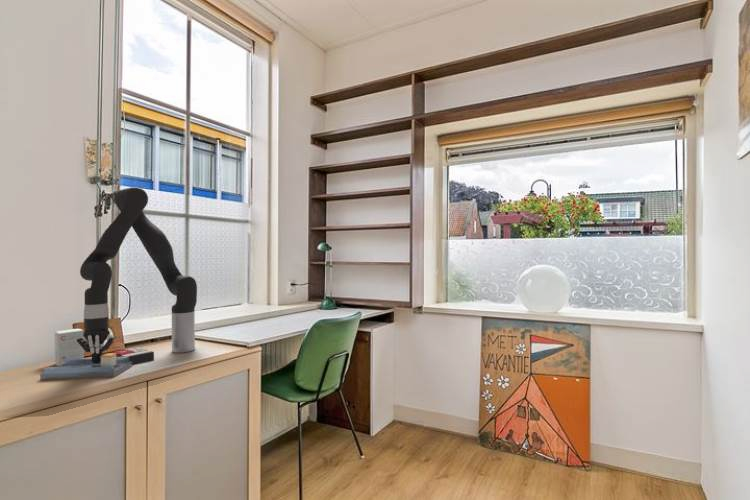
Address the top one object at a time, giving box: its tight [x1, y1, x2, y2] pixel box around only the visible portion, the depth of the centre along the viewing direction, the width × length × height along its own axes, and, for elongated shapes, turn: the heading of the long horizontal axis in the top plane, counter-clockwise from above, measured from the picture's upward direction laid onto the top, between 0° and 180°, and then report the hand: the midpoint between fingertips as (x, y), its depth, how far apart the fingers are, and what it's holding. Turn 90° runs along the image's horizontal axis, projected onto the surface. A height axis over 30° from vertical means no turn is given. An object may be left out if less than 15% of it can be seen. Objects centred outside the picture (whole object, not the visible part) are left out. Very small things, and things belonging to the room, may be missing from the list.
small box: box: [54, 328, 85, 367], centre depth 158 cm, size 8×6×13 cm
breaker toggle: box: [101, 353, 116, 365], centre depth 147 cm, size 4×4×4 cm
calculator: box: [112, 346, 155, 366], centre depth 163 cm, size 11×4×15 cm
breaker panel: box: [39, 357, 133, 381], centre depth 146 cm, size 13×24×4 cm, turn 96°
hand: (96, 362), depth 146 cm, fingers closed
